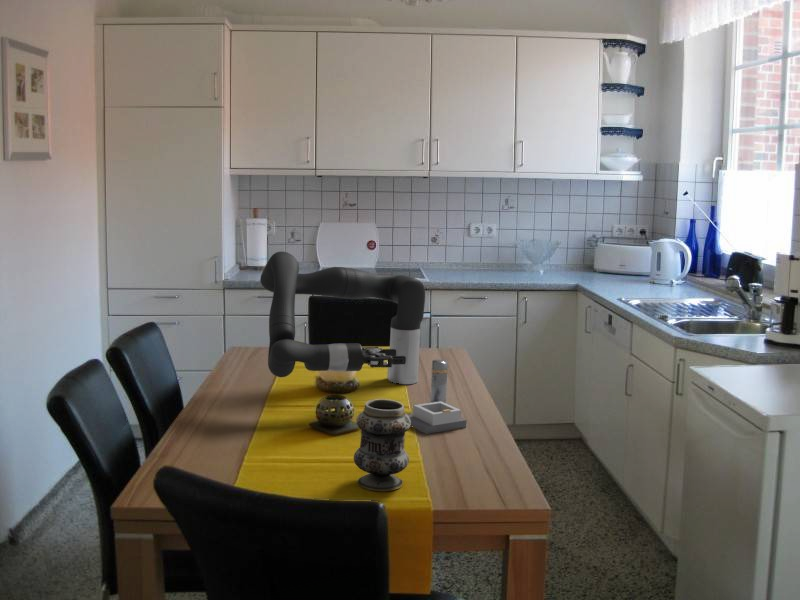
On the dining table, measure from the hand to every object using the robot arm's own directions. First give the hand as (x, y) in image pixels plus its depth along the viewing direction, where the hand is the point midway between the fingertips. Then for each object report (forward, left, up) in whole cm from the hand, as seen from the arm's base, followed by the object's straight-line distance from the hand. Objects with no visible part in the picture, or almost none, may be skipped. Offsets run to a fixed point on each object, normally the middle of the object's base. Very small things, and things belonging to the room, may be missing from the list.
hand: (400, 356), depth 243 cm
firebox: (+14, +3, -16) cm, 21 cm away
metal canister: (+3, +12, -16) cm, 20 cm away
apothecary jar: (+43, -32, -16) cm, 56 cm away
